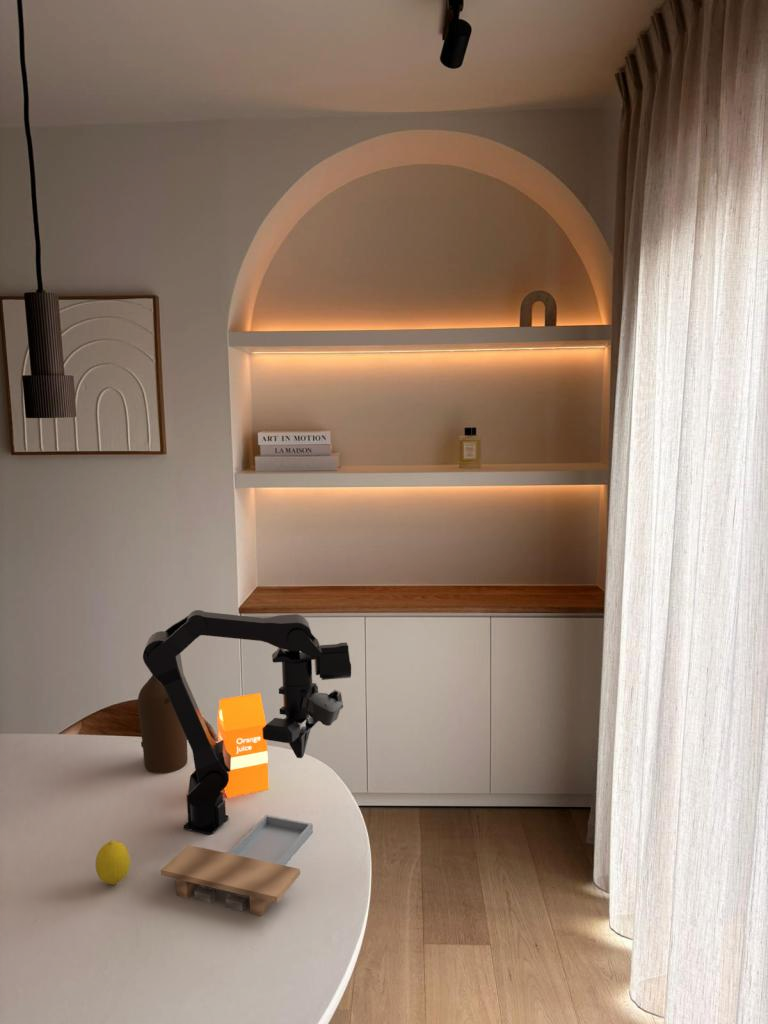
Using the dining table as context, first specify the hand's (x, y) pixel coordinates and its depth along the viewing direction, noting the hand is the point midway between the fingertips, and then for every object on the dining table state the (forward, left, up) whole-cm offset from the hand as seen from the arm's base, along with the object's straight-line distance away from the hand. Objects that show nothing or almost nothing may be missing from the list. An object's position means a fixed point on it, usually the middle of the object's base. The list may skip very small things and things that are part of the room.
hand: (300, 757), depth 159 cm
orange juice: (-17, +7, -12) cm, 22 cm away
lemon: (-20, -31, -12) cm, 39 cm away
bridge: (0, -26, -12) cm, 29 cm away
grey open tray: (0, -12, -12) cm, 17 cm away
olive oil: (-39, +10, -12) cm, 42 cm away
